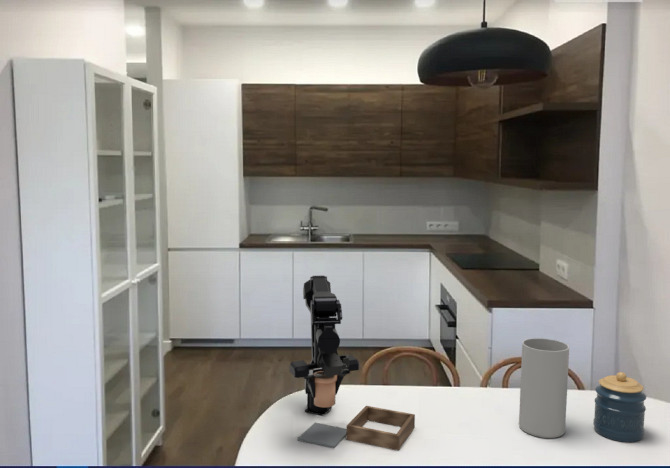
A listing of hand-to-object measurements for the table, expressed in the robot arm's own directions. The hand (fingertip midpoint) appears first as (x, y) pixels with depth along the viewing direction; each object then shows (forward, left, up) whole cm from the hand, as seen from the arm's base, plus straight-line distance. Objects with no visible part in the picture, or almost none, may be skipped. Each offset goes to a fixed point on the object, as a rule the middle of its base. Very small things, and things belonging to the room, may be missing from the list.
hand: (324, 395), depth 159 cm
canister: (+75, +37, -12) cm, 84 cm away
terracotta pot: (0, 0, -2) cm, 2 cm away
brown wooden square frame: (+14, +8, -12) cm, 20 cm away
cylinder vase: (+55, +30, -12) cm, 64 cm away
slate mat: (0, 0, -12) cm, 12 cm away
